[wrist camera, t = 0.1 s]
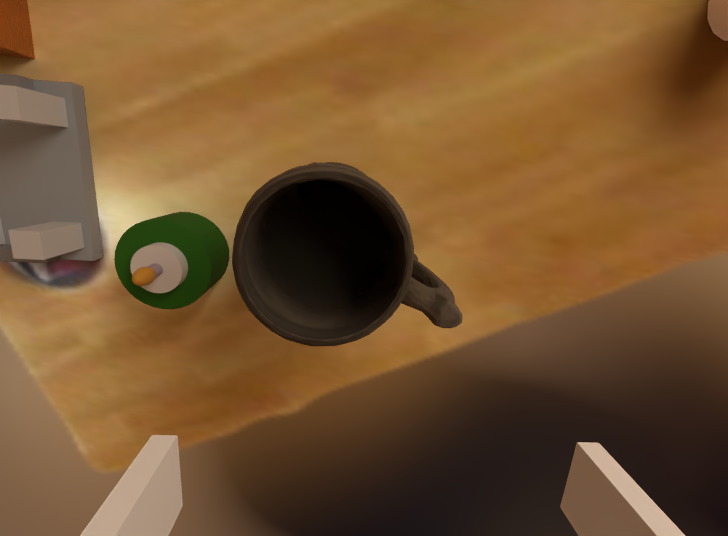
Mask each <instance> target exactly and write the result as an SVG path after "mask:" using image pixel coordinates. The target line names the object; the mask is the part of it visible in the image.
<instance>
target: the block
mask: <svg viewBox="0 0 728 536" xmlns="http://www.w3.org/2000/svg"><path fill="white" fill-rule="evenodd" d="M0 55H2V56H12V57H22V58H32V59H35V54H34V47H33V40H32V33H31V25H30V18H29V11H28V4H27V0H0Z"/></svg>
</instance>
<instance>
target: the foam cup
mask: <svg viewBox="0 0 728 536" xmlns="http://www.w3.org/2000/svg"><path fill="white" fill-rule="evenodd" d="M707 20H708V22H709V25H710V27H711V29H712V32H713V33H714V34H715V35H717V36H718V37H720V38H721V39H722V40H724V41H728V0H709V1H708V15H707Z"/></svg>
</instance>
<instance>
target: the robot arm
mask: <svg viewBox="0 0 728 536" xmlns="http://www.w3.org/2000/svg"><path fill="white" fill-rule="evenodd" d="M182 506H183V502H182V489H181V477H180V463H179V450H178V437H177V435H152V436H151V437H150V439H149V440H148V441H147V443H146V444H145V446H144V447H143V448H142V450H141V451H140V453H139V454H138V455H137V457H136V458H135V460H134V461H133V462H132V464H131V465H130V467H129V468H128V469H127V471H126V472H125V474H124V475H123V476H122V478H121V479H120V481H119V482H118V483H117V485H116V486H115V488H114V489H113V490H112V492H111V493H110V494H109V496H108V497H107V499H106V500H105V502H104V503H103V504H102V506H101V507H100V509H99V510H98V511H97V513H96V514H95V516H94V517H93V518H92V520H91V521H90V522H89V524H88V525H87V527H86V528H85V529H84V531H83V532H82V534H81V535H80V536H168V535H169V533H170V531H171V529H172V527H173V525H174V523H175V521H176V519H177V517H178V514H179V512H180V510H181V508H182ZM560 507H561V509H562V510H563V512H564V513H565V515H566V517H567V518H568V520H569V521H570V523H571V524H572V526H573V528H574V529H575V531H576V532H577V534H578V535H579V536H685V535H684V534H683V533H682V532H681V531H680V530H679V529H678V527H677V526H676V525H675V524H674V523H673V522H672V521H671V520H670V519H669V518H668V517H667V516H666V515H665V514H664V512H663V511H662V510H661V509H660V508H659V507H658V506H657V505H656V504H655V503H654V502H653V501H652V500H651V499H650V498H649V496H648V495H647V494H646V493H645V492H644V491H643V490H642V489H641V488H640V487H639V486H638V485H637V484H636V482H635V481H634V480H633V479H632V478H631V477H630V476H629V475H628V474H627V473H626V472H625V471H624V470H623V469H622V467H621V466H620V465H619V464H618V463H617V462H616V461H615V460H614V459H613V458H612V457H611V456H610V455H609V454H608V452H607V451H606V450H605V449H604V448H603V447H602V446H601V445H600V444H599V443H581V442H578V443H577V445H576V449H575V453H574V457H573V460H572V464H571V468H570V472H569V476H568V480H567V483H566V487H565V491H564V495H563V499H562V503H561V506H560Z"/></svg>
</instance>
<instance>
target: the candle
mask: <svg viewBox="0 0 728 536" xmlns="http://www.w3.org/2000/svg"><path fill="white" fill-rule="evenodd" d="M228 262H229V248H228V244H227V241H226V239H225V237H224V235H223V234H222V232H221V231H220V229H219V228H218V227H217V226H216V225H215V224H214V223H213V222H211V221H210V220H208V219H207V218H205V217H203V216H200V215H198V214H194V213H190V212H178V213H172V214H169V215H165V216H161V217H157V218H153V219H150V220H146V221H143V222H140V223H137V224H135V225H134V226H132V227H131V228H129V229H128V230H127V231H126V232H125V233H124V234H123V235H122V237H121V238H120V240H119V242H118V244H117V247H116V250H115V267H116V271H117V274H118V277H119V279H120V280H121V282H122V284H123V286H124V287H125V288H126V289H127V290H128V291H129V293H131V294H132V295H133V296H134V297H135V298H136V299H138V300H140V301H141V302H143V303H145V304H147V305H150V306H152V307H156V308H161V309H176V308H182V307H184V306H187V305H190V304H191V303H193V302H194V301H196V300H197V299H198V298H199V297H201V296H202V295H203V294H204V293H205V292H206V291H207V290H208V289H209V288H211V287H212V286H213V285H214V284H215V283H216V282H217V281H218V280H219V279H220V278H221V277H222V276H223V274H224V273H225V271H226V269H227V266H228Z"/></svg>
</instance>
